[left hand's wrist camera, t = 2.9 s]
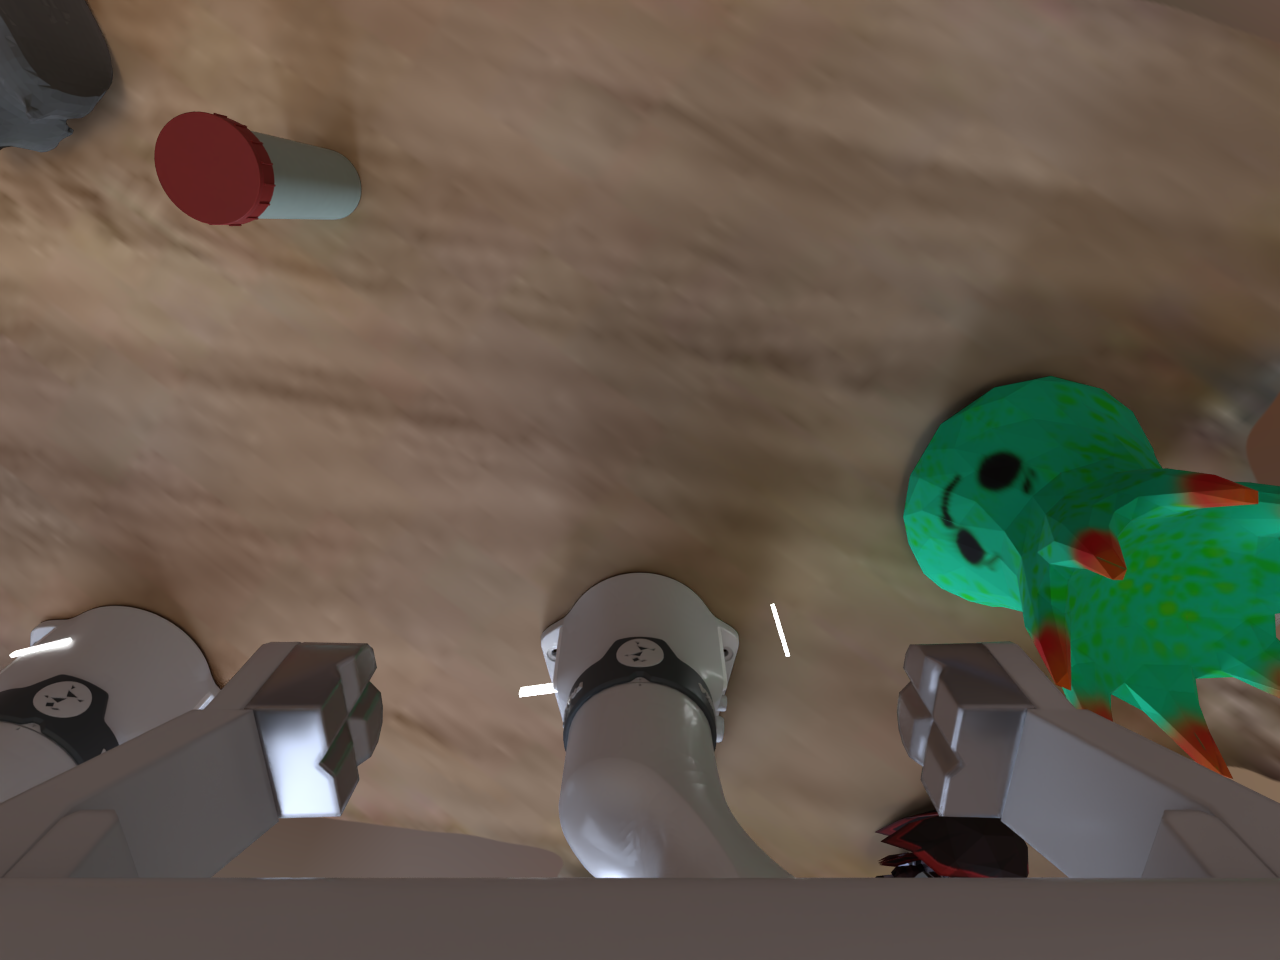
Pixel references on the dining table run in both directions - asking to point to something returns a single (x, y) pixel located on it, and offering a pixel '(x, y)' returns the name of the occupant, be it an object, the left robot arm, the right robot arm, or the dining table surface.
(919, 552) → the toy
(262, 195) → the lid
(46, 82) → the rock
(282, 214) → the jar
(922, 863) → the toy
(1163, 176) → the dining table surface
